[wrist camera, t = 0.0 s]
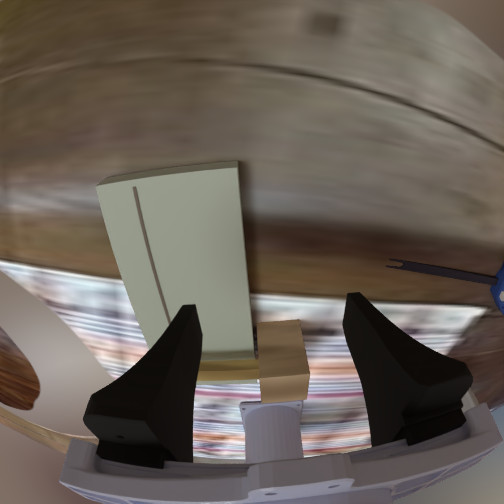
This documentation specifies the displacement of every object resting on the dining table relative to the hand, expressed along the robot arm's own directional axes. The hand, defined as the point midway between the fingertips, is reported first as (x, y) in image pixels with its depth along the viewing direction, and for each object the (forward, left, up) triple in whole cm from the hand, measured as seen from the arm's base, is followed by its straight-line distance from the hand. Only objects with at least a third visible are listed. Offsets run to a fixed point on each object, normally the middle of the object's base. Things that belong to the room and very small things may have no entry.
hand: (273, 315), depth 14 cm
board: (-6, +6, -10) cm, 13 cm away
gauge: (-12, +3, -10) cm, 16 cm away
